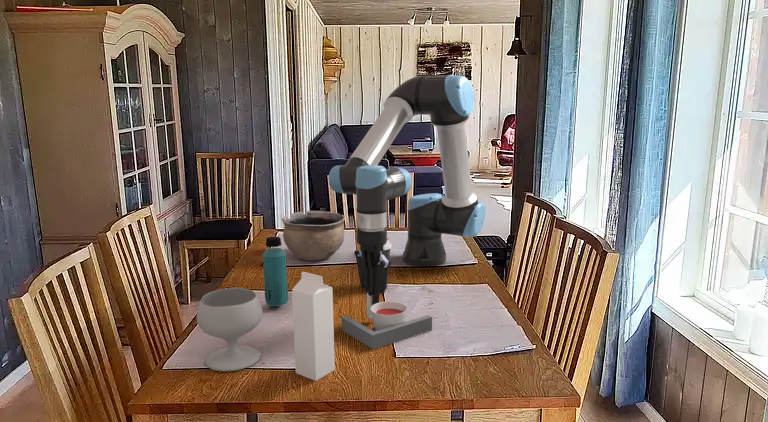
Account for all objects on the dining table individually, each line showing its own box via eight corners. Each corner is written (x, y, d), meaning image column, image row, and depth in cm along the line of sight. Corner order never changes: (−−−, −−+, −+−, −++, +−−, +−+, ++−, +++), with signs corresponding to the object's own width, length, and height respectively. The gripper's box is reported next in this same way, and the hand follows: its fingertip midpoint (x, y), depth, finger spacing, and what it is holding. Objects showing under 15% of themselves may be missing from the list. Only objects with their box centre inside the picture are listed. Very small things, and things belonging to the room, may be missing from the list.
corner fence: (398, 313, 155) (398, 301, 155) (432, 330, 145) (432, 317, 144) (341, 330, 145) (341, 317, 144) (373, 349, 134) (372, 335, 134)
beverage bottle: (293, 304, 163) (290, 235, 158) (281, 312, 157) (278, 241, 152) (272, 301, 165) (269, 233, 161) (260, 310, 159) (256, 239, 154)
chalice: (208, 347, 136) (203, 286, 133) (268, 345, 137) (265, 284, 134) (193, 376, 123) (187, 309, 119) (260, 373, 124) (256, 307, 120)
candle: (380, 342, 138) (380, 317, 137) (364, 328, 146) (364, 305, 145) (413, 335, 142) (413, 310, 141) (396, 322, 150) (396, 299, 149)
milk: (314, 363, 128) (311, 267, 124) (335, 370, 125) (332, 272, 120) (295, 373, 123) (290, 274, 119) (315, 381, 120) (312, 280, 115)
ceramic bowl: (313, 246, 222) (312, 207, 219) (358, 255, 209) (357, 214, 206) (271, 260, 204) (268, 218, 201) (316, 271, 192) (315, 227, 189)
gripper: (344, 225, 147) (346, 312, 152) (374, 235, 137) (375, 328, 142) (369, 221, 152) (370, 306, 157) (399, 230, 141) (399, 321, 146)
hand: (372, 316), depth 149 cm, fingers closed
